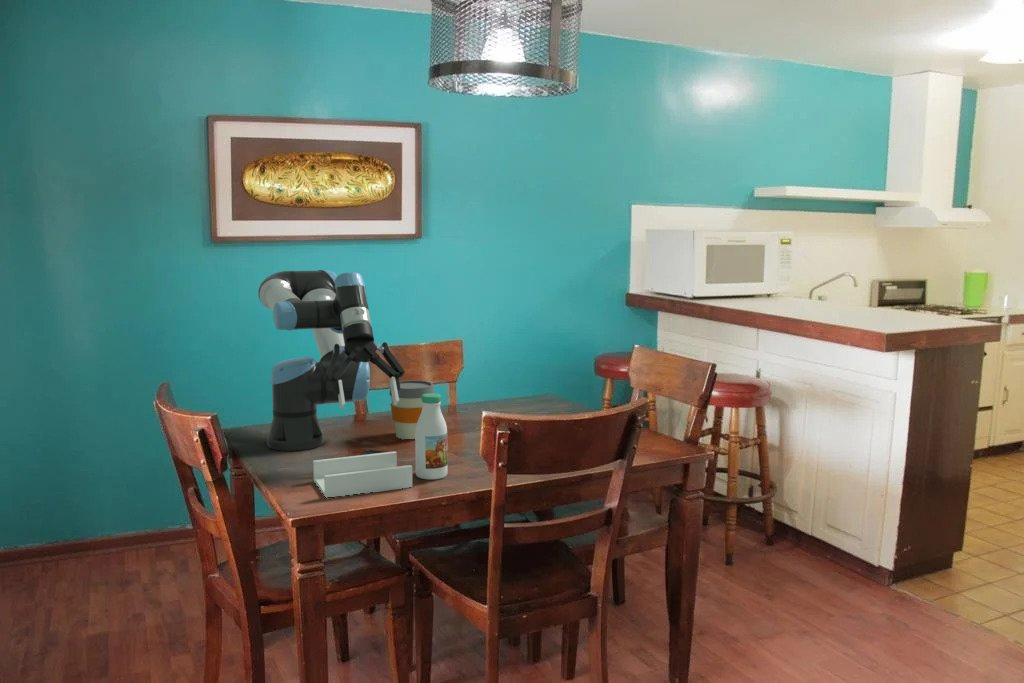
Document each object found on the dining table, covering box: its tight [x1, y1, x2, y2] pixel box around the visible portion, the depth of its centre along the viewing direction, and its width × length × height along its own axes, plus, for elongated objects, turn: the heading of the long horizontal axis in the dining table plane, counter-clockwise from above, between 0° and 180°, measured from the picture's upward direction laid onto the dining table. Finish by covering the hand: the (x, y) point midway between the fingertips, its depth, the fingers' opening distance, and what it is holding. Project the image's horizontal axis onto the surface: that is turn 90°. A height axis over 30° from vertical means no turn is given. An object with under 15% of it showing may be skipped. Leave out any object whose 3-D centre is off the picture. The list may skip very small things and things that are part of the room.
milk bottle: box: [414, 392, 449, 481], centre depth 198 cm, size 8×8×20 cm
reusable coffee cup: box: [389, 379, 435, 440], centre depth 234 cm, size 12×13×15 cm
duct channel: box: [312, 451, 413, 499], centre depth 192 cm, size 13×20×5 cm
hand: (369, 404), depth 203 cm, fingers open, 13 cm apart
